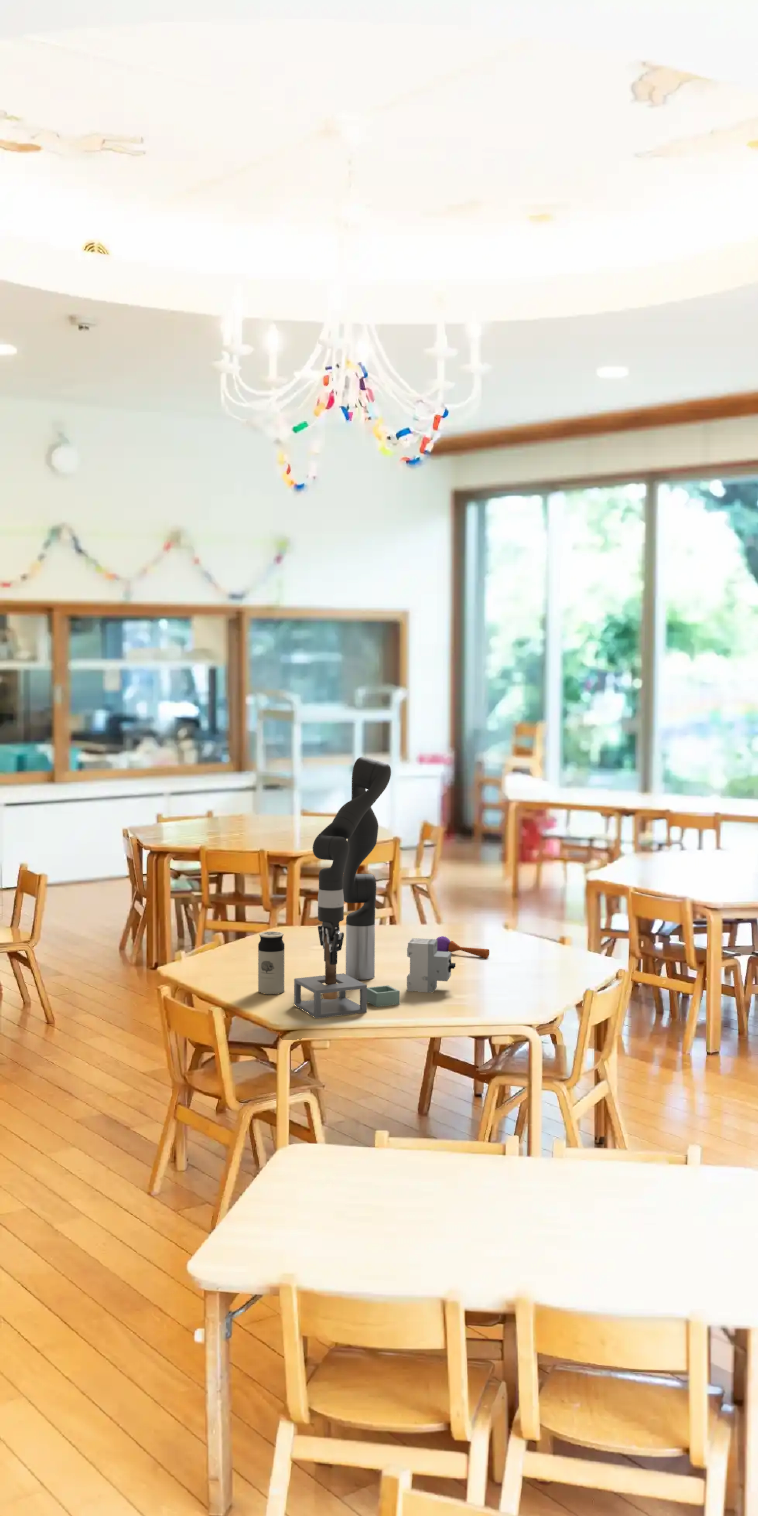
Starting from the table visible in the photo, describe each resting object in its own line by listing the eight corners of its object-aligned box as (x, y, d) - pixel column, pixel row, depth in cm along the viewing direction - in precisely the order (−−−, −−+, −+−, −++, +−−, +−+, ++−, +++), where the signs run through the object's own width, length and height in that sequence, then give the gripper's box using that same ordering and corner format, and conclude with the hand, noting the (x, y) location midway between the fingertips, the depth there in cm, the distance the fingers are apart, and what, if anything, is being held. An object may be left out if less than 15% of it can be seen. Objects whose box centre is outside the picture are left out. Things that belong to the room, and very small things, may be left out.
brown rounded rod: (323, 983, 397) (323, 935, 396) (333, 982, 398) (333, 934, 397) (327, 985, 394) (328, 937, 393) (337, 984, 395) (338, 936, 394)
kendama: (484, 949, 462) (431, 938, 471) (483, 965, 463) (431, 954, 472) (491, 942, 467) (438, 932, 476) (490, 958, 468) (438, 948, 477)
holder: (365, 1001, 406) (365, 987, 406) (388, 998, 409) (388, 985, 409) (376, 1006, 399) (376, 993, 399) (399, 1004, 402) (399, 990, 402)
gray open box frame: (294, 1005, 400) (294, 978, 400) (343, 999, 407) (343, 973, 407) (316, 1018, 386) (316, 990, 385) (366, 1012, 393) (367, 985, 392)
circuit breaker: (452, 993, 415) (453, 945, 414) (406, 991, 418) (407, 942, 417) (456, 987, 423) (456, 940, 422) (411, 985, 426) (411, 938, 425)
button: (320, 996, 397) (320, 986, 397) (333, 995, 399) (333, 985, 399) (326, 1000, 393) (326, 989, 393) (340, 998, 395) (340, 988, 395)
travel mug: (268, 987, 422) (268, 930, 420) (289, 990, 418) (289, 932, 416) (253, 992, 415) (253, 934, 414) (274, 996, 411) (274, 937, 410)
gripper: (352, 907, 390) (352, 966, 391) (332, 899, 402) (332, 957, 404) (329, 909, 386) (328, 969, 388) (309, 901, 399) (309, 959, 400)
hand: (330, 962), depth 396 cm, fingers closed on brown rounded rod, 3 cm apart
